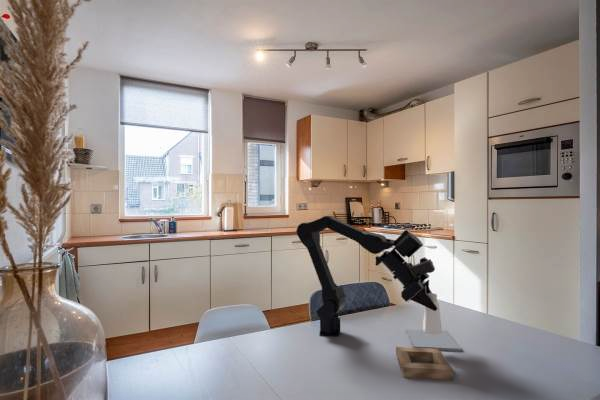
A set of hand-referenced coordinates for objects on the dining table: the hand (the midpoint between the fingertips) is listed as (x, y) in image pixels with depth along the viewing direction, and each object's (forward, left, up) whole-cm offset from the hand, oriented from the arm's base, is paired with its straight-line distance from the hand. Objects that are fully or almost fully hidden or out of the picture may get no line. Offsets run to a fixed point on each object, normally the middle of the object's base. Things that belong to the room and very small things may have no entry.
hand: (436, 307), depth 97 cm
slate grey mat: (0, +9, -13) cm, 16 cm away
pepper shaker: (-1, 0, -7) cm, 7 cm away
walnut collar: (-7, -9, -13) cm, 17 cm away
